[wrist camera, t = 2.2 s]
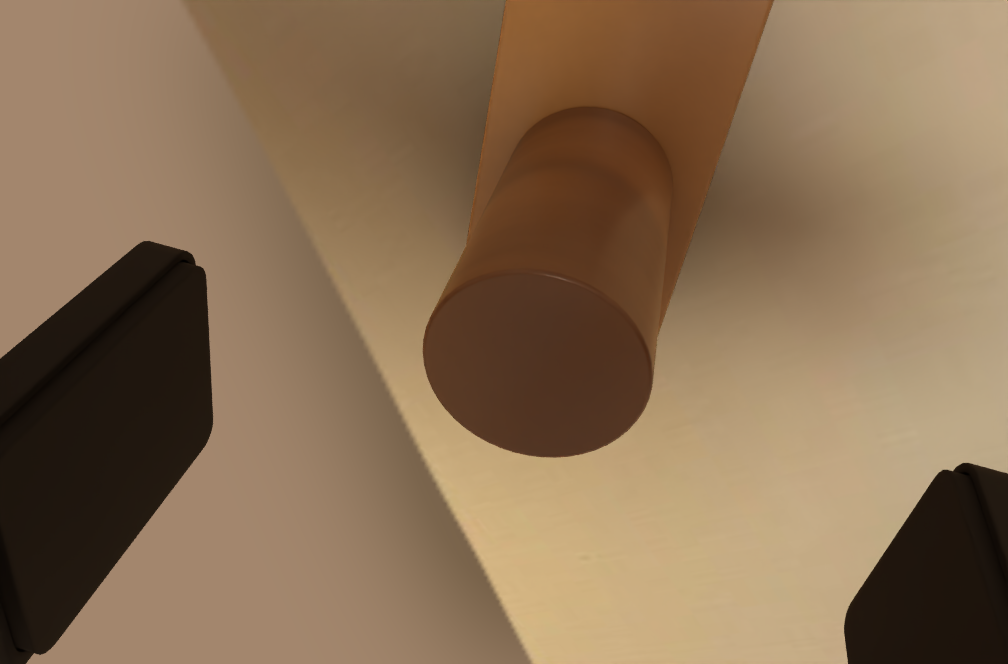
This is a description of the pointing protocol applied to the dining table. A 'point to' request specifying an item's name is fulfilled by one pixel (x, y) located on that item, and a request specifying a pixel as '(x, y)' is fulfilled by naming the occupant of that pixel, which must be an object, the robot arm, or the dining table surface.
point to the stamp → (584, 213)
